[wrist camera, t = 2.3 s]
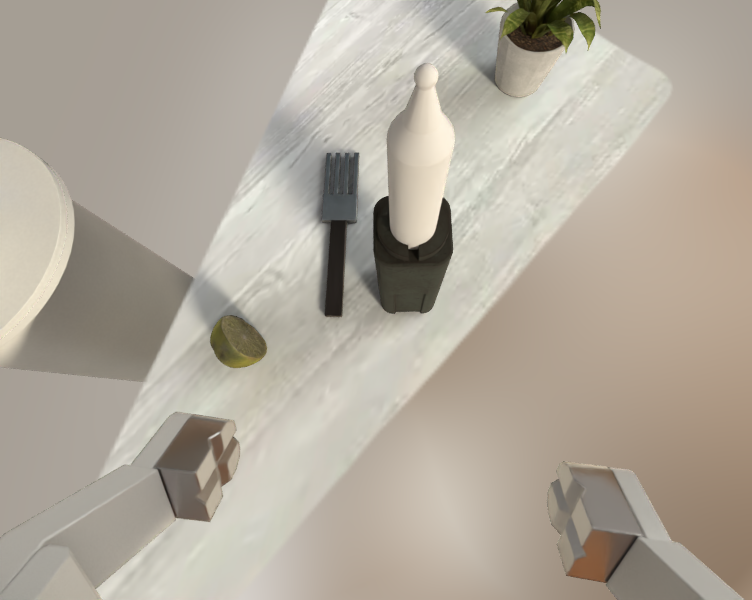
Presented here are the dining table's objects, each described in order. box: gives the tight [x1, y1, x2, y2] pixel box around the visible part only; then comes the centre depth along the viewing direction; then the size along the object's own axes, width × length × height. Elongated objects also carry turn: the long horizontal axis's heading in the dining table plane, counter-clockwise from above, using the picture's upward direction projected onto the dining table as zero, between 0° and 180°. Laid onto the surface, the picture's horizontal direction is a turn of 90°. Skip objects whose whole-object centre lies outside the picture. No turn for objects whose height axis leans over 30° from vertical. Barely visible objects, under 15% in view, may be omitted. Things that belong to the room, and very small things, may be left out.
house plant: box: [486, 0, 601, 97], centre depth 35 cm, size 14×14×16 cm
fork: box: [321, 153, 359, 317], centre depth 39 cm, size 4×18×1 cm, turn 179°
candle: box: [373, 63, 455, 314], centre depth 25 cm, size 5×5×25 cm
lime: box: [210, 315, 267, 368], centre depth 34 cm, size 4×5×5 cm
